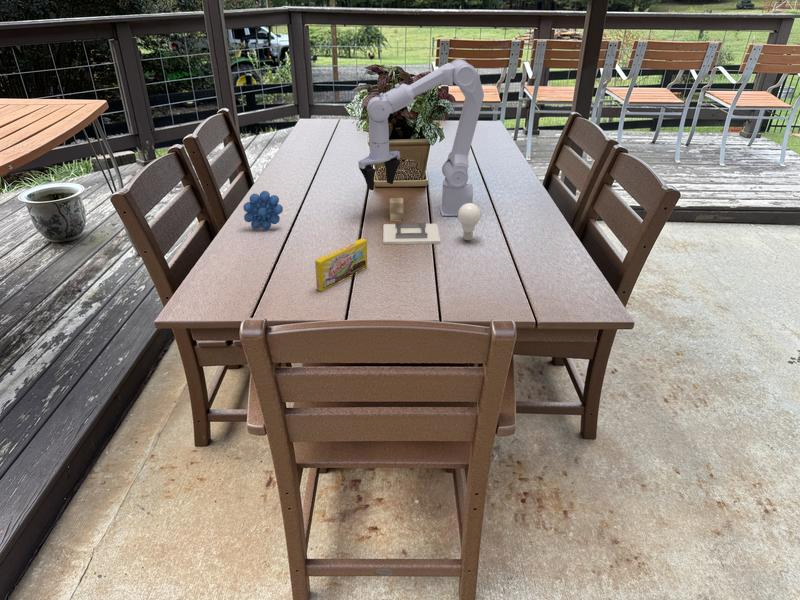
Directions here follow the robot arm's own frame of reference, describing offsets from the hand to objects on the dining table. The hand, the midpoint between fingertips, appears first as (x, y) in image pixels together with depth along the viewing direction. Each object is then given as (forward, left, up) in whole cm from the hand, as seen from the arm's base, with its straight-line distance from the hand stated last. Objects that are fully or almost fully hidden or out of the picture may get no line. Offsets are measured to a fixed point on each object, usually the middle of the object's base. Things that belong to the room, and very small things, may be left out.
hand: (380, 186), depth 166 cm
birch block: (-5, +3, -10) cm, 11 cm away
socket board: (-9, +15, -10) cm, 19 cm away
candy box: (+9, +40, -10) cm, 42 cm away
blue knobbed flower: (+34, +9, -10) cm, 37 cm away
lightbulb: (-25, +19, -10) cm, 32 cm away
